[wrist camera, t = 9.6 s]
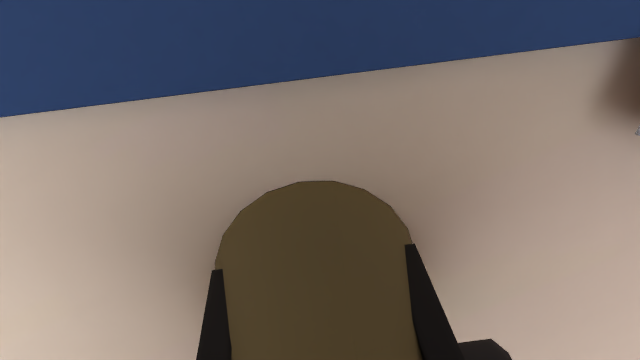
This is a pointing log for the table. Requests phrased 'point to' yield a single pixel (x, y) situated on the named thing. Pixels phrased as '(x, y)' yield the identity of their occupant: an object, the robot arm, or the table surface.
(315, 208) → the olive pawn figure
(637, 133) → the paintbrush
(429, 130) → the table surface
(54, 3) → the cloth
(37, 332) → the table surface
